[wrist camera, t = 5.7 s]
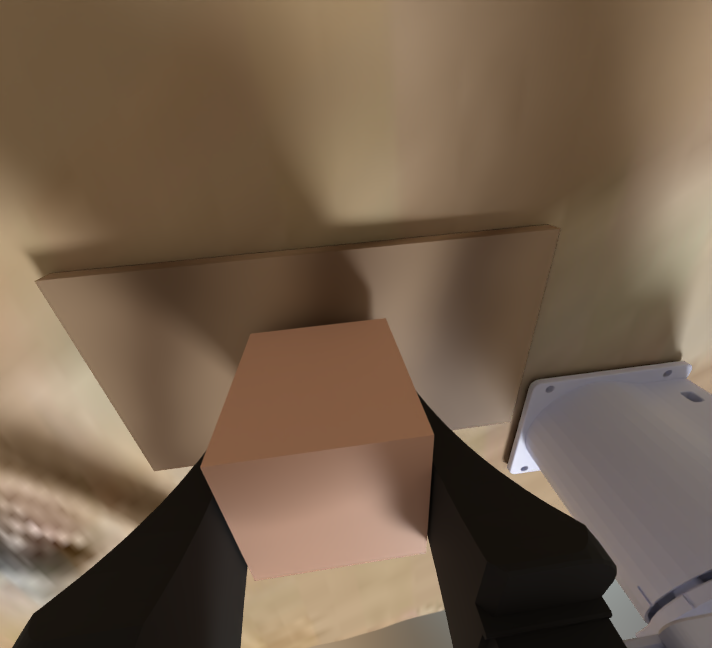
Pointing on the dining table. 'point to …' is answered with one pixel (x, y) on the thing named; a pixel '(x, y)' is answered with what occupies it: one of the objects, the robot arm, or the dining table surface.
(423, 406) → the robot arm
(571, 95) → the dining table surface
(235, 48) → the dining table surface
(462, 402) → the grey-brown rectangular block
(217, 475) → the pink block
